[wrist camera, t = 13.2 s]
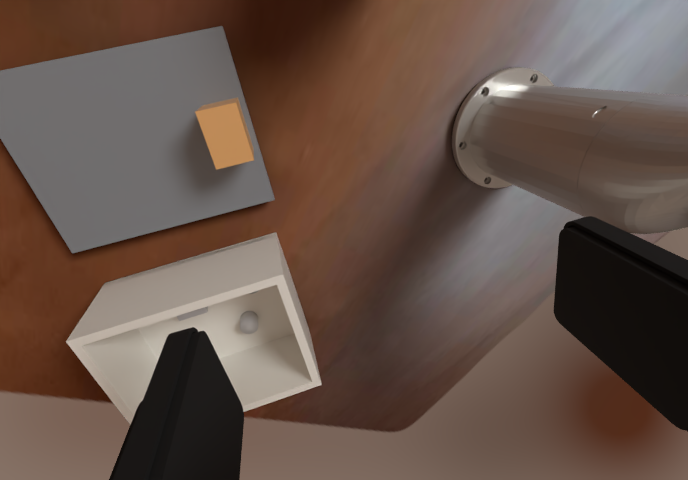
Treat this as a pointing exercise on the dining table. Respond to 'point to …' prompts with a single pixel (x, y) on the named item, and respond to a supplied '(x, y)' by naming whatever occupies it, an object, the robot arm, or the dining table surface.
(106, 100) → the grey board with block
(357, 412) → the dining table surface
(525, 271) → the dining table surface
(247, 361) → the parts tub
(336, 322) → the dining table surface
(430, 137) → the dining table surface
